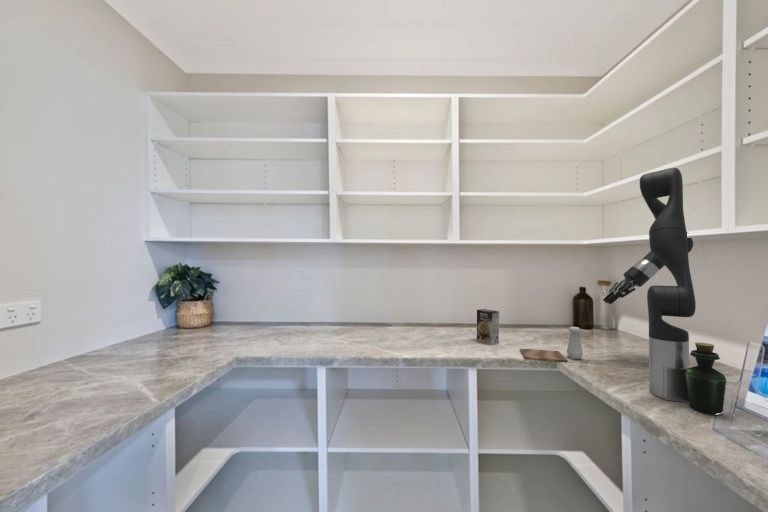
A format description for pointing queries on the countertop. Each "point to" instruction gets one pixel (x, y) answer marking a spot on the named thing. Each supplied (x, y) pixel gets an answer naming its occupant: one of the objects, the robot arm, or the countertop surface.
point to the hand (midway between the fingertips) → (606, 301)
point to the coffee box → (488, 326)
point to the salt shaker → (574, 344)
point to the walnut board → (543, 355)
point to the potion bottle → (705, 381)
